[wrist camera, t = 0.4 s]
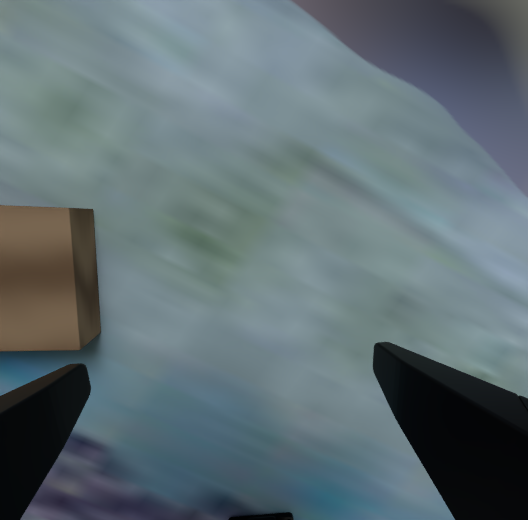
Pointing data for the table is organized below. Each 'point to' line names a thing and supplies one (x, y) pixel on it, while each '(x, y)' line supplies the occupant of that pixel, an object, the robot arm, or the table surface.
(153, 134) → the table surface
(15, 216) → the walnut plinth
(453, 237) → the table surface
